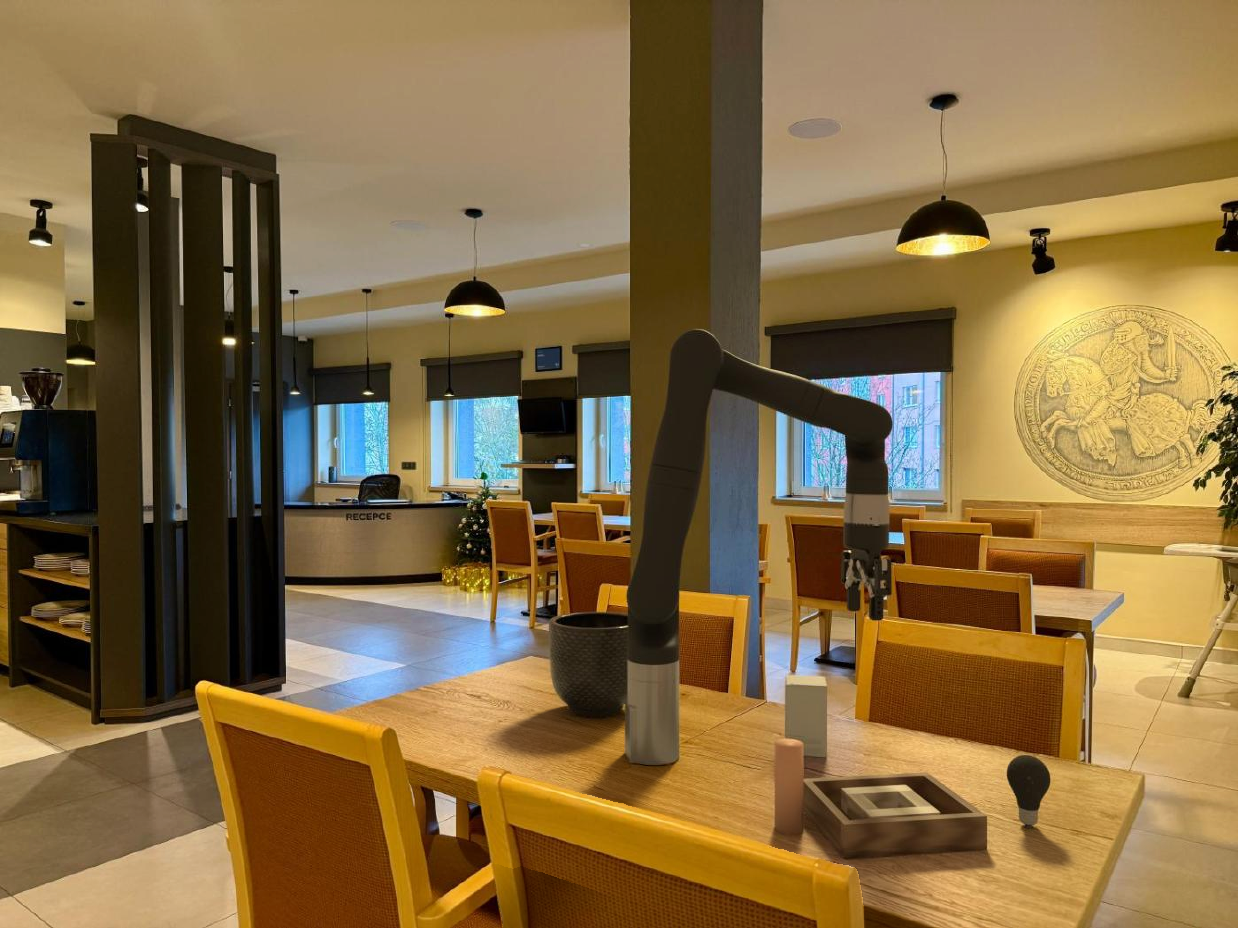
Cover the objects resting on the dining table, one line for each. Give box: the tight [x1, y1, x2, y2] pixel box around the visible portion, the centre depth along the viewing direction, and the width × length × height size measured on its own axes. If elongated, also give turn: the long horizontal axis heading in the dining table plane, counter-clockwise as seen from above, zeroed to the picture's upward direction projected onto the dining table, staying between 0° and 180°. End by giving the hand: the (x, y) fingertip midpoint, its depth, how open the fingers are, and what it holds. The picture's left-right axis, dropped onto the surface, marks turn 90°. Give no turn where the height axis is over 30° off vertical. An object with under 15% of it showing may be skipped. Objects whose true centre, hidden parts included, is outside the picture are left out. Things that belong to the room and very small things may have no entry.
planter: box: [548, 611, 628, 719], centre depth 175 cm, size 20×20×19 cm
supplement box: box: [784, 674, 828, 758], centre depth 151 cm, size 7×7×13 cm
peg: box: [774, 738, 804, 835], centre depth 118 cm, size 4×4×12 cm
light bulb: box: [1006, 754, 1051, 828], centre depth 119 cm, size 6×6×10 cm
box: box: [803, 772, 988, 860], centre depth 118 cm, size 20×16×4 cm
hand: (864, 615), depth 143 cm, fingers open, 8 cm apart
